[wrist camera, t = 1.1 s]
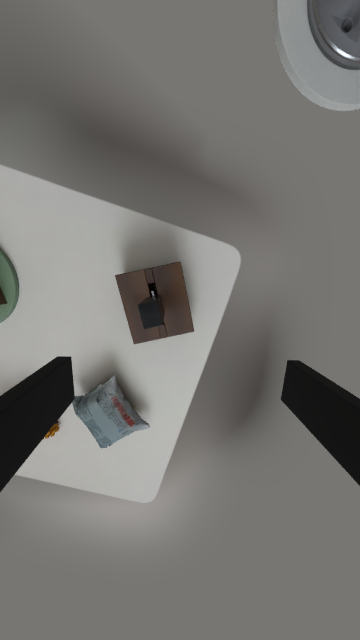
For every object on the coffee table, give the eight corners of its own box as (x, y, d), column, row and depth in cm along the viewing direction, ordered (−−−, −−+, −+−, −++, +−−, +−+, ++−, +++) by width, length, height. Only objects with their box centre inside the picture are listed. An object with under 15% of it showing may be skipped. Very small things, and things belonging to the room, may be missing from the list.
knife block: (178, 264, 31) (180, 261, 26) (190, 323, 33) (194, 331, 28) (123, 275, 31) (114, 275, 26) (139, 334, 33) (133, 344, 28)
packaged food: (118, 368, 34) (109, 384, 29) (151, 419, 36) (148, 441, 31) (76, 390, 34) (60, 408, 30) (111, 438, 37) (102, 462, 32)
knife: (161, 287, 31) (155, 293, 19) (166, 311, 32) (164, 332, 19) (149, 289, 31) (135, 297, 19) (155, 313, 32) (145, 336, 19)
